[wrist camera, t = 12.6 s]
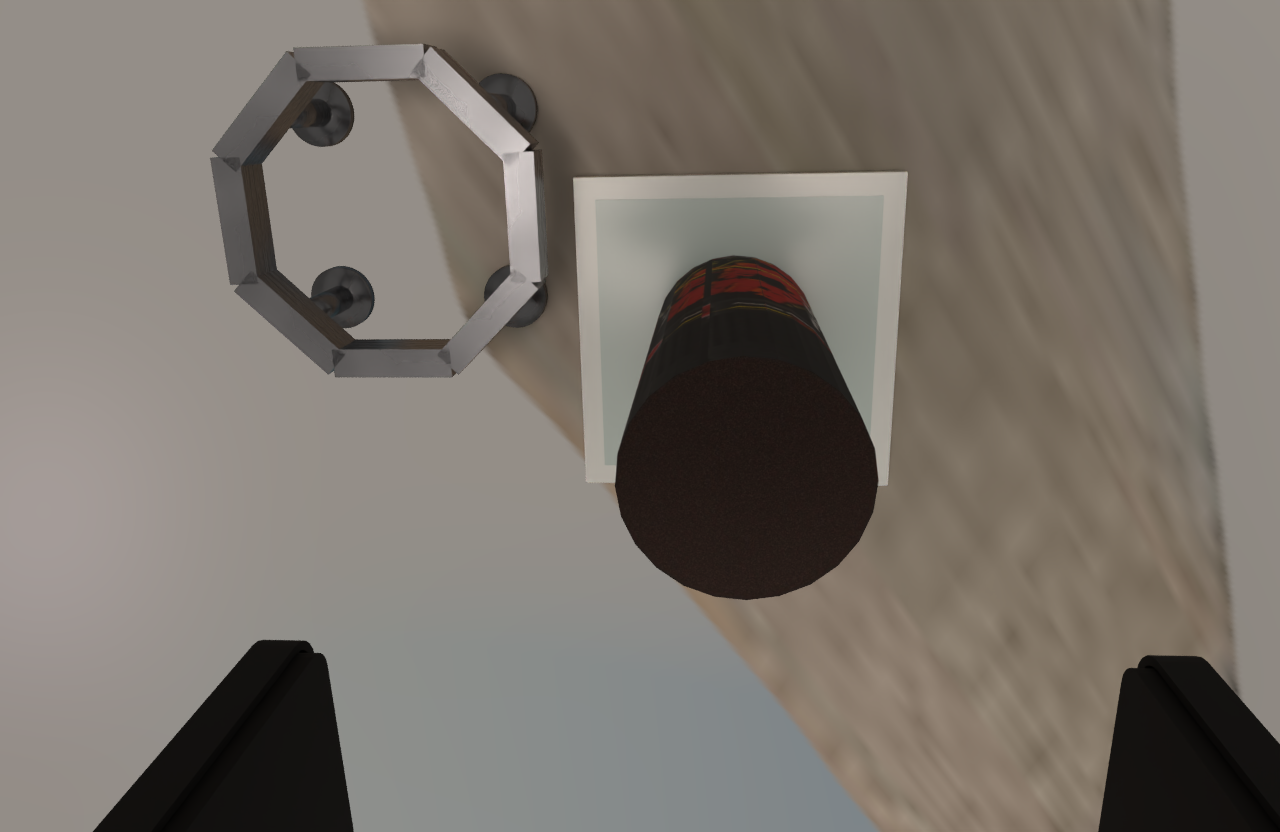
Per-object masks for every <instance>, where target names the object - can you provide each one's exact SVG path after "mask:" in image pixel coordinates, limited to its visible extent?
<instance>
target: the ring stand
mask: <svg viewBox="0 0 1280 832" xmlns="http://www.w3.org/2000/svg"><path fill="white" fill-rule="evenodd" d="M293 50H294V52H288V51H286V53H285V54H284V55H283V57H282V58H281V59H280V60H279V62H278V63H277V65H276V66H275V67H274V69H273V70H272V71H271V72H270V74H269V75H268V77H267V78H266V79H265V80H264V82H263V83H262V85H261V86H260V87H259V88H258V90H257V91H256V92H255V94H254V95H253V96H252V98H251V99H250V100H249V102H248V103H247V104H246V106H245V107H244V108H243V110H242V111H241V113H240V114H239V115H238V116H237V118H236V119H235V120H234V122H233V123H232V124H231V126H230V127H229V128H228V130H227V131H226V132H225V134H224V135H223V137H222V138H221V139H220V141H219V142H218V143H217V144H216V146H215V147H214V148H213V150H212V151H213V152H214V153H215V154H216V155H217V156H218V157H216V158H210V160H211V166H212V172H213V178H214V185H215V191H216V198H217V204H218V210H219V217H220V223H221V229H222V236H223V242H224V248H225V255H226V261H227V267H228V273H229V280H230V284H231V285H235V284H236V285H239V286H238V287H237V288H236V289H235V293H237V294H238V295H239V296H240V297H241V298H242V299H243V300H245V301H246V302H247V303H248V304H249V305H250V306H251V307H252V308H253V309H255V310H256V311H257V312H258V313H259V314H260V315H261V316H263V317H264V318H265V319H266V320H267V321H268V322H269V323H270V324H272V325H273V326H274V327H275V328H276V329H277V330H278V331H279V332H281V333H282V334H283V335H284V336H285V337H286V338H287V339H289V340H290V341H291V342H292V343H293V344H294V345H295V346H297V347H298V348H299V349H300V350H301V351H302V352H303V353H304V354H306V355H307V356H308V357H309V358H310V359H311V360H312V361H314V362H315V363H316V364H317V365H318V366H319V367H321V368H322V369H323V370H324V371H325V372H326V373H327V374H330V373H331V372H333V371H334V373H335V377H453V376H454V375H455V374H456V373H457V374H460V373H461V371H463V370H464V368H466V367H467V366H468V365H469V364H470V362H471V361H472V360H473V359H474V358H475V357H476V356H477V355H478V354H479V353H480V351H482V350H483V349H484V347H485V346H486V345H487V344H488V343H489V342H490V341H491V340H492V339H493V338H494V337H495V336H496V335H497V334H498V332H499V331H500V330H501V329H502V328H503V327H504V326H505V325H506V326H509V327H516V328H517V327H524V326H527V325H530V324H532V323H533V322H534V321H536V320H537V319H538V318H539V317H540V315H541V314H542V313H543V311H544V309H545V307H546V303H547V290H546V286H545V284H544V283H545V282H546V281H545V280H544V278H545V277H547V276H548V257H547V237H546V218H545V199H544V180H543V161H542V150H533V148H534V147H535V146H536V145H537V144H538V143H539V142H538V141H537V140H536V139H535V138H534V137H533V136H532V135H531V134H529V132H530V131H531V129H532V128H533V126H534V124H535V121H536V118H537V102H536V98H535V96H534V93H533V91H532V90H531V88H530V87H529V86H528V85H527V84H526V83H525V82H524V81H523V80H521V79H520V78H518V77H516V76H513V75H509V74H501V73H500V74H494V75H491V76H488V77H486V78H485V79H483V80H482V81H481V82H480V83H479V84H478V83H477V82H476V81H475V80H474V79H473V78H472V77H471V76H470V75H469V74H468V73H467V72H466V71H465V70H464V69H463V68H462V67H461V66H460V65H459V64H458V63H457V62H456V61H455V60H454V59H453V58H452V57H451V56H450V55H449V54H448V53H447V52H446V51H445V50H442V49H438V48H437V47H435V46H431V45H426V44H399V45H367V46H333V47H299V48H293ZM399 80H420V81H421V82H422V83H423V84H424V85H425V86H426V87H427V88H428V89H429V90H430V91H431V92H432V93H433V94H434V95H436V96H437V97H438V98H439V99H440V100H441V101H442V102H443V103H444V104H445V105H446V106H447V107H448V108H449V109H450V110H451V111H452V112H453V113H454V114H455V115H456V116H457V117H458V118H459V119H460V120H461V121H462V122H463V123H464V124H465V125H467V126H468V127H469V128H470V129H471V130H472V131H473V132H474V133H475V134H476V135H477V136H478V137H479V138H480V139H481V140H482V141H483V142H484V143H485V144H486V145H487V146H488V147H489V148H490V149H491V150H492V151H493V152H494V153H495V154H497V155H498V156H499V157H500V158H501V159H502V160H503V164H504V180H505V195H506V211H507V226H508V242H509V257H510V265H508V266H505V267H502V268H501V269H499V270H498V271H496V272H495V273H494V274H493V275H492V276H491V277H490V278H489V280H488V282H487V284H486V287H485V292H484V299H485V303H484V304H483V305H482V306H481V307H480V308H479V309H478V310H477V311H476V312H475V314H474V315H473V316H472V317H471V318H470V319H469V320H468V321H467V322H466V323H465V325H464V326H463V327H462V328H461V329H460V330H459V331H458V332H457V333H456V334H455V335H454V337H453V338H452V339H427V340H426V339H422V340H421V339H419V340H418V339H416V340H415V339H414V340H413V339H404V340H403V339H401V340H399V339H397V340H396V339H394V340H391V339H390V340H355V339H354V338H353V337H352V336H351V335H350V334H348V333H347V332H346V331H345V330H344V329H343V328H351V327H354V326H356V325H358V324H360V323H362V322H363V321H365V320H366V319H367V318H368V317H369V315H370V314H371V312H372V310H373V307H374V301H375V300H374V292H373V289H372V286H371V284H370V283H369V281H368V280H367V278H366V277H365V276H364V275H363V274H362V273H360V272H359V271H357V270H355V269H353V268H350V267H346V266H337V267H333V268H331V269H328V270H326V271H324V272H322V273H321V274H320V275H319V276H318V277H317V278H316V280H315V282H314V284H313V286H312V292H311V298H308V297H307V296H306V295H305V294H304V293H303V292H301V291H300V290H299V289H298V288H297V287H296V286H295V285H294V284H292V282H290V281H289V280H288V279H287V278H286V277H285V276H284V275H283V274H281V273H280V272H279V271H278V270H277V267H276V261H275V254H274V247H273V239H272V233H271V225H270V218H269V211H268V204H267V197H266V190H265V183H264V176H263V169H262V163H263V162H264V160H265V159H266V157H267V156H268V155H269V154H270V152H271V151H272V150H273V148H274V147H275V146H276V145H277V143H278V142H279V141H280V140H281V138H282V137H283V136H284V134H285V133H286V132H287V130H288V129H289V128H293V130H294V131H295V133H296V134H297V135H298V136H299V137H300V138H301V139H302V140H303V141H305V142H307V143H309V144H311V145H314V146H319V147H325V146H333V145H336V144H338V143H340V142H342V141H343V140H344V139H345V138H346V137H347V136H348V135H349V133H350V131H351V129H352V127H353V123H354V109H353V105H352V102H351V100H350V98H349V96H348V95H347V93H346V92H345V91H344V90H343V89H342V88H341V87H340V86H339V85H337V84H335V83H334V82H362V81H399Z"/></svg>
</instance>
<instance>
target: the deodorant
mask: <svg viewBox="0 0 1280 832" xmlns="http://www.w3.org/2000/svg"><path fill="white" fill-rule="evenodd" d="M878 482H879V479H878V470H877V461H876V452H875V447H874V445H873V442H872V440H871V438H870V435H869V433H868V431H867V428H866V426H865V424H864V421H863V419H862V417H861V414H860V412H859V410H858V408H857V406H856V404H855V402H854V399H853V397H852V395H851V393H850V391H849V389H848V387H847V384H846V382H845V380H844V378H843V376H842V374H841V371H840V369H839V367H838V365H837V363H836V361H835V359H834V356H833V354H832V352H831V350H830V348H829V346H828V344H827V341H826V339H825V337H824V335H823V333H822V331H821V329H820V326H819V324H818V322H817V320H816V318H815V316H814V314H813V311H812V309H811V307H810V305H809V303H808V301H807V299H806V296H805V294H804V292H803V291H802V290H801V289H800V287H799V286H798V285H797V284H796V282H795V281H794V280H793V279H792V277H791V276H789V275H788V274H787V273H785V272H784V271H782V270H781V269H780V268H778V267H777V266H775V265H774V264H771V263H769V262H766V261H763V260H761V259H758V258H755V257H747V256H735V255H733V256H727V257H721V258H715V259H711V260H709V261H707V262H705V263H703V264H700V265H698V266H696V267H694V268H692V269H691V270H690V271H689V272H688V273H686V274H685V275H684V276H683V277H682V278H680V279H679V280H678V281H677V282H676V284H675V285H674V286H673V288H672V289H671V291H670V292H669V293H668V295H667V296H666V298H665V300H664V303H663V306H662V308H661V311H660V314H659V317H658V320H657V323H656V327H655V330H654V333H653V337H652V340H651V343H650V347H649V350H648V353H647V357H646V360H645V363H644V367H643V370H642V373H641V377H640V380H639V383H638V387H637V390H636V393H635V397H634V400H633V403H632V407H631V410H630V413H629V417H628V420H627V423H626V427H625V430H624V433H623V437H622V440H621V443H620V447H619V450H618V453H617V465H616V478H615V488H616V493H617V498H618V503H619V508H620V513H621V517H622V519H623V521H624V523H625V525H626V527H627V529H628V531H629V533H630V534H631V536H632V539H633V540H634V542H635V544H636V545H637V546H638V548H639V549H640V550H641V551H642V552H643V553H644V554H645V555H646V556H647V557H648V559H649V560H650V561H651V562H652V563H653V564H654V565H655V566H656V568H658V569H659V570H661V571H662V572H664V573H665V574H667V575H669V576H670V577H672V578H673V579H675V580H676V581H678V582H679V583H681V584H682V585H684V586H686V587H689V588H692V589H695V590H698V591H700V592H703V593H706V594H709V595H712V596H715V597H724V598H733V599H742V600H751V599H759V598H766V597H774V596H780V595H783V594H786V593H789V592H791V591H794V590H797V589H799V588H802V587H805V586H807V585H810V584H812V583H813V582H815V581H816V580H818V579H819V578H821V577H822V576H824V575H825V574H826V573H828V572H829V571H831V570H832V569H834V568H835V567H837V566H838V565H839V564H840V563H841V561H842V560H843V559H844V558H845V557H846V556H847V555H848V553H849V552H850V551H851V550H852V549H853V548H854V547H855V545H856V544H857V543H858V542H859V540H860V538H861V536H862V534H863V532H864V530H865V528H866V526H867V524H868V522H869V520H870V518H871V515H872V513H873V510H874V504H875V498H876V493H877V487H878Z"/></svg>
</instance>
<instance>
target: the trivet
mask: <svg viewBox="0 0 1280 832" xmlns="http://www.w3.org/2000/svg"><path fill="white" fill-rule="evenodd" d="M907 177H908V172H906V171H855V172H798V173H741V174H684V175H628V176H576V177H574V178H573V188H574V211H575V234H576V258H577V281H578V305H579V328H580V351H581V375H582V398H583V421H584V445H585V468H586V483H615V478H616V465H617V453H618V450H619V447H620V443H621V440H622V437H623V433H624V430H625V427H626V423H627V420H628V417H629V413H630V410H631V407H632V403H633V400H634V397H635V393H636V390H637V387H638V383H639V380H640V377H641V373H642V370H643V367H644V363H645V360H646V357H647V353H648V350H649V347H650V343H651V340H652V337H653V333H654V330H655V327H656V323H657V320H658V317H659V314H660V311H661V308H662V306H663V303H664V300H665V298H666V296H667V295H668V293H669V292H670V291H671V289H672V288H673V286H674V285H675V284H676V282H677V281H678V280H679V279H680V278H682V277H683V276H684V275H685V274H686V273H688V272H689V271H690V270H691V269H692V268H694V267H696V266H698V265H700V264H703V263H705V262H707V261H709V260H711V259H715V258H721V257H727V256H733V255H735V256H747V257H755V258H758V259H761V260H763V261H766V262H769V263H771V264H774V265H775V266H777V267H778V268H780V269H781V270H782V271H784V272H785V273H787V274H788V275H789V276H791V277H792V279H793V280H794V281H795V282H796V284H797V285H798V286H799V287H800V289H801V290H802V291H803V292H804V294H805V296H806V299H807V301H808V303H809V305H810V307H811V309H812V311H813V314H814V316H815V318H816V320H817V322H818V324H819V326H820V329H821V331H822V333H823V335H824V337H825V339H826V341H827V344H828V346H829V348H830V350H831V352H832V354H833V356H834V359H835V361H836V363H837V365H838V367H839V369H840V371H841V374H842V376H843V378H844V380H845V382H846V384H847V387H848V389H849V391H850V393H851V395H852V397H853V399H854V402H855V404H856V406H857V408H858V410H859V412H860V414H861V417H862V419H863V421H864V424H865V426H866V428H867V431H868V433H869V435H870V438H871V440H872V442H873V445H874V447H875V452H876V461H877V470H878V479H879V482H878V486H888V473H889V457H890V442H891V426H892V411H893V395H894V380H895V364H896V348H897V333H898V317H899V302H900V286H901V271H902V255H903V240H904V224H905V209H906V193H907Z"/></svg>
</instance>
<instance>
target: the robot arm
mask: <svg viewBox="0 0 1280 832" xmlns="http://www.w3.org/2000/svg"><path fill="white" fill-rule="evenodd" d="M93 832H353V823H352V818H351V811H350V804H349V798H348V792H347V786H346V779H345V773H344V766H343V760H342V755H341V747H340V742H339V735H338V728H337V722H336V716H335V709H334V703H333V697H332V691H331V684H330V679H329V671H328V665H327V661H326V659H325V657H324V655H323V654H321V653H314V651H313V648H312V647H311V645H310V643H308V642H307V641H293V640H291V641H290V640H261V641H257V642H256V643H255V644H254V645H253V646H252V647H251V648H250V649H249V650H248V652H247V653H246V654H245V655H244V656H243V657H242V659H241V660H240V661H239V662H238V663H237V664H236V666H235V667H234V668H233V669H232V670H231V671H230V673H229V674H228V675H227V676H226V677H225V678H224V679H223V681H222V682H221V683H220V684H219V685H218V686H217V688H216V689H215V690H214V691H213V692H212V694H211V695H210V696H209V697H208V698H207V699H206V700H205V702H204V703H203V704H202V705H201V706H200V708H199V709H198V710H197V711H196V712H195V713H194V714H193V716H192V717H191V718H190V719H189V720H188V721H187V723H186V724H185V725H184V726H183V727H182V728H181V730H180V731H179V732H178V733H177V734H176V735H175V737H174V738H173V739H172V740H171V741H170V742H169V744H168V745H167V746H166V747H165V748H164V749H163V751H162V752H161V753H160V754H159V755H158V756H157V758H156V759H155V760H154V761H153V762H152V763H151V764H150V766H149V767H148V768H147V769H146V770H145V771H144V773H143V774H142V775H141V776H140V777H139V778H138V780H137V781H136V782H135V783H134V784H133V785H132V787H131V788H130V789H129V790H128V791H127V792H126V794H125V795H124V796H123V797H122V798H121V799H120V801H119V802H118V803H117V804H116V805H115V806H114V808H113V809H112V810H111V811H110V812H109V813H108V815H107V816H106V817H105V818H104V819H103V821H102V822H101V823H100V824H99V825H98V826H97V828H96V829H95V830H94V831H93ZM1098 832H1280V744H1279V743H1278V742H1277V741H1276V739H1275V738H1274V737H1273V736H1272V735H1271V734H1270V733H1269V732H1268V730H1267V729H1266V728H1265V727H1264V726H1263V725H1262V723H1261V722H1260V721H1259V720H1258V719H1257V718H1256V717H1255V715H1254V714H1253V713H1252V712H1251V711H1250V710H1249V709H1248V707H1247V706H1246V705H1245V704H1244V703H1243V702H1242V701H1241V699H1240V698H1239V697H1238V696H1237V695H1236V694H1235V693H1234V691H1233V690H1232V689H1231V688H1230V687H1229V686H1228V685H1227V683H1226V682H1225V681H1224V680H1223V679H1222V678H1221V677H1220V675H1219V674H1218V673H1217V672H1216V671H1215V670H1214V669H1213V667H1212V666H1211V665H1210V664H1209V663H1208V662H1207V661H1206V660H1205V659H1203V658H1202V657H1197V656H1155V655H1147V656H1145V657H1143V658H1142V659H1141V661H1140V662H1139V664H1138V668H1129V669H1127V670H1126V671H1125V672H1124V674H1123V678H1122V682H1121V688H1120V695H1119V701H1118V708H1117V714H1116V721H1115V727H1114V734H1113V740H1112V747H1111V753H1110V760H1109V766H1108V773H1107V779H1106V786H1105V792H1104V798H1103V805H1102V811H1101V818H1100V824H1099V831H1098Z"/></svg>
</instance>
